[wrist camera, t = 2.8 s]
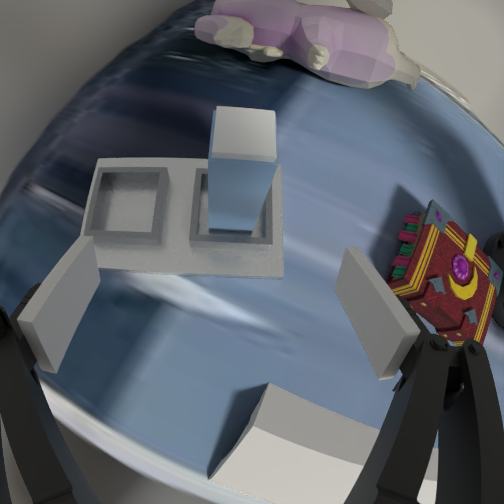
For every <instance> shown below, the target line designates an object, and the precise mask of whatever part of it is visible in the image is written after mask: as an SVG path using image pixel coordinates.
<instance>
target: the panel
mask: <svg viewBox="0 0 504 504" xmlns="http://www.w3.org/2000/svg"><path fill="white" fill-rule="evenodd" d="M80 236H93V241H94V248H95V254H96V260H97V265H98V270H104V271H118V272H133V273H149V274H166V275H185V276H204V277H226V278H251V279H279V280H281V279H282V278H283V277H284V263H283V211H282V178H281V164H278V167H277V170H276V172H275V175H274V177H273V180H272V183H271V185H270V188H269V190H268V193H267V196H266V198H265V201H264V203H263V206H262V209H261V211H260V214H259V216H258V219H257V222H256V224H255V227H254V229H253V232H252V234H244V233H225V232H209V214H208V159H194V158H99V159H98V161H97V165H96V168H95V172H94V176H93V179H92V183H91V187H90V191H89V196H88V200H87V204H86V209H85V213H84V218H83V223H82V228H81V234H80Z"/></svg>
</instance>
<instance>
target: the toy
mask: <svg viewBox="0 0 504 504" xmlns="http://www.w3.org/2000/svg"><path fill="white" fill-rule="evenodd" d="M346 1H347V2H348V4H349V5H350V7H351V8H342V7H334V6H322V5H321V6H320V5H305V4H299V3H298V2H296V1H295V0H216V1H215V3H214V6H213V9H212V13H211V15H206V16H203V17H201V18H198V20H197V21H196V23H195V28H194V30H195V36H196V38H198V39H200V40H202V41H205V42H207V43H209V44H217V45H219V46H221V47H224V48H231V49H234V50H237V51H239V52H242V53H244V54H246V55H247V56H248V57H249V58H250V59H251V60H252V61H258V62H270V61H275V60H278V59H281V58H283V59H291V60H293V61H295V62H297V63H298V64H300V65H302V66H303V67H305V68H306V69H308V70H310V71H311V72H313V73H315V74H317V75H319V76H320V77H322V78H324V79H326V80H328V81H332V82H336V83H340V84H343V85H347V86H350V87H358V88H365V89H370V88H373V87H376V86H379V85H381V84H383V83H384V82H386V81H388V80H396V81H400V82H403V83H406V84H407V87H408V88H409V89H410V90H414V89H415V87H416V85H417V83H418V80H419V77H420V71H421V70H420V68H419V66H418V65H417V64H415V63H414V62H412V61H411V60H409V59H408V58H406V57H405V54H404V53H402V52H401V51H400V50H399V44H398V39H397V37H396V34H395V32H394V29H393V27H392V25H390V24H389V23H387V22H386V21H384V20H383V19H385V18H386V17H387V16H389V15H390V14H392V5H393V4H392V1H391V0H346Z"/></svg>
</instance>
